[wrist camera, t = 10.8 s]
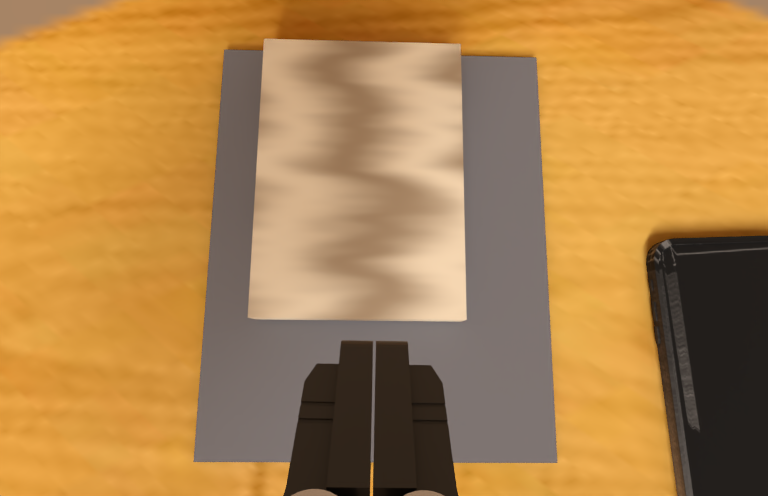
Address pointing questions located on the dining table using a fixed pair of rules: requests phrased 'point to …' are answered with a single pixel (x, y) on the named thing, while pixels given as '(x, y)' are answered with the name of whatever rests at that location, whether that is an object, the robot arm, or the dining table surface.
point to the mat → (425, 338)
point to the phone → (714, 360)
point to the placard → (359, 183)
